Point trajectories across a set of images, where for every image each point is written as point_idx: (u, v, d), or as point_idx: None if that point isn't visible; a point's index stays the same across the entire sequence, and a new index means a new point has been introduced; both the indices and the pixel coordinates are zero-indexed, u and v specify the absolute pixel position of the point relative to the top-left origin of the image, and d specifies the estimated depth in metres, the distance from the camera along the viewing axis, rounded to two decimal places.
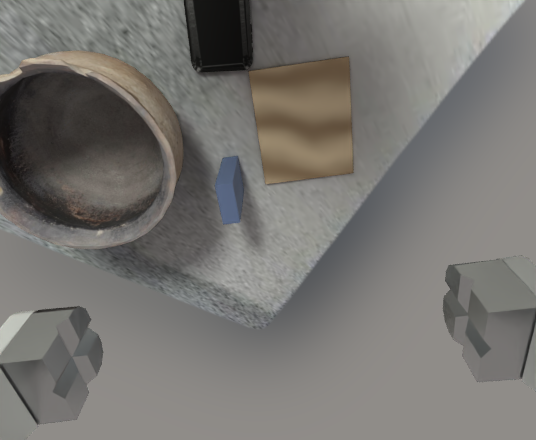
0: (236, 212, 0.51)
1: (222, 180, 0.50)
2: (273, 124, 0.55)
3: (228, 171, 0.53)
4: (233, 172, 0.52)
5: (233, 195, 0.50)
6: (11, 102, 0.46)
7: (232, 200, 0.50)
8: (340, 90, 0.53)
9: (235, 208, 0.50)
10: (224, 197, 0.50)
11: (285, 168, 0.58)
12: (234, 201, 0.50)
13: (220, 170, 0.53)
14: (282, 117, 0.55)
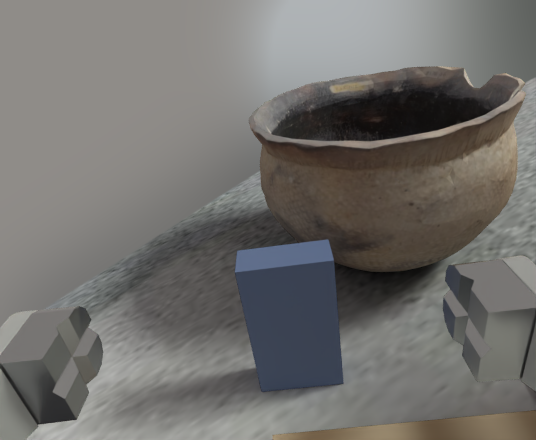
0: (261, 266, 0.22)
1: None
2: None
3: None
4: None
5: (304, 262, 0.22)
6: None
7: (291, 261, 0.22)
8: None
9: (272, 265, 0.22)
10: (299, 251, 0.23)
11: None
12: (289, 263, 0.22)
13: None
14: None
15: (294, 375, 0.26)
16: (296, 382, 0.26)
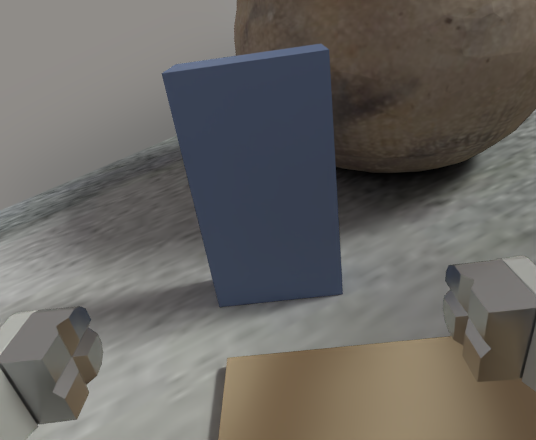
0: (206, 66, 0.13)
1: None
2: (506, 392, 0.12)
3: None
4: (334, 155, 0.15)
5: (278, 56, 0.13)
6: None
7: (258, 58, 0.13)
8: None
9: (225, 63, 0.13)
10: (273, 53, 0.14)
11: (288, 436, 0.12)
12: (253, 59, 0.13)
13: None
14: None
15: (268, 278, 0.17)
16: (271, 291, 0.17)
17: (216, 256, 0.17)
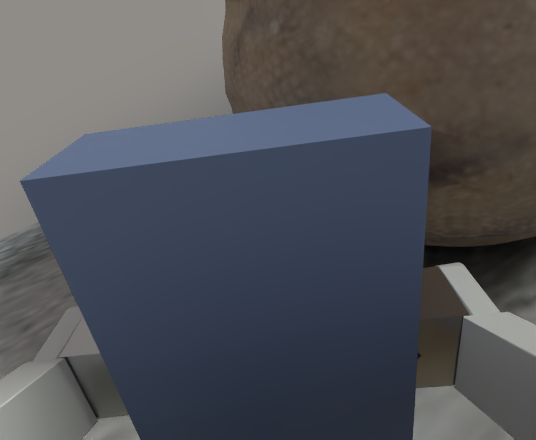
0: (130, 161, 0.05)
1: None
2: None
3: None
4: None
5: (303, 139, 0.05)
6: None
7: (255, 140, 0.06)
8: None
9: (175, 155, 0.05)
10: (287, 120, 0.06)
11: None
12: (242, 147, 0.05)
13: None
14: None
15: None
16: None
17: None
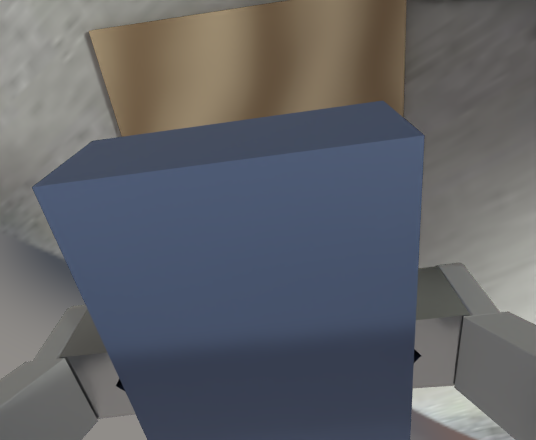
0: (136, 168, 0.06)
1: None
2: (265, 56, 0.21)
3: None
4: None
5: (302, 147, 0.06)
6: None
7: (255, 148, 0.06)
8: None
9: (179, 162, 0.06)
10: (286, 127, 0.07)
11: (146, 89, 0.22)
12: (243, 155, 0.06)
13: None
14: (282, 79, 0.21)
15: None
16: None
17: None
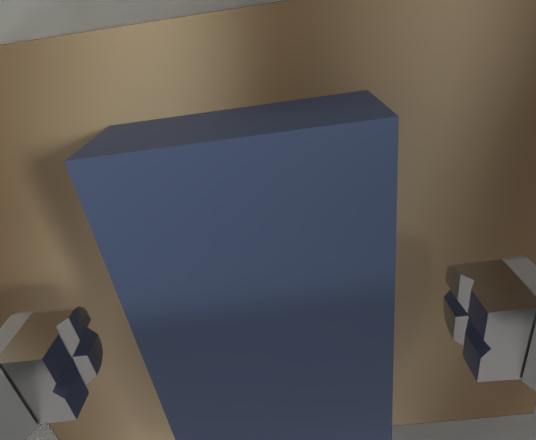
0: (154, 145, 0.07)
1: None
2: None
3: None
4: None
5: (295, 127, 0.07)
6: None
7: (256, 128, 0.07)
8: (411, 398, 0.13)
9: (190, 140, 0.07)
10: (282, 112, 0.08)
11: None
12: (245, 133, 0.07)
13: None
14: None
15: None
16: None
17: (187, 432, 0.10)
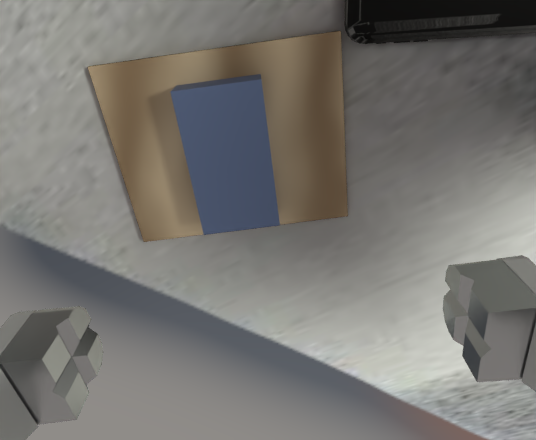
0: (195, 87, 0.24)
1: None
2: None
3: None
4: (268, 138, 0.26)
5: (234, 82, 0.24)
6: None
7: (223, 83, 0.24)
8: (294, 207, 0.30)
9: (205, 86, 0.24)
10: (232, 79, 0.25)
11: (134, 113, 0.27)
12: (220, 84, 0.24)
13: None
14: None
15: (233, 215, 0.28)
16: (235, 223, 0.28)
17: (201, 200, 0.27)
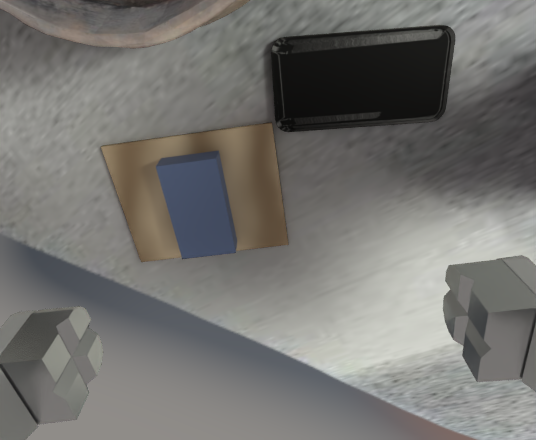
0: (172, 163, 0.36)
1: (220, 167, 0.37)
2: None
3: (226, 198, 0.38)
4: (224, 195, 0.37)
5: (198, 160, 0.35)
6: None
7: (191, 160, 0.36)
8: (248, 238, 0.42)
9: (179, 162, 0.36)
10: (198, 156, 0.36)
11: (133, 175, 0.38)
12: (189, 161, 0.35)
13: (228, 199, 0.39)
14: None
15: (202, 245, 0.40)
16: (204, 251, 0.40)
17: (179, 235, 0.39)
